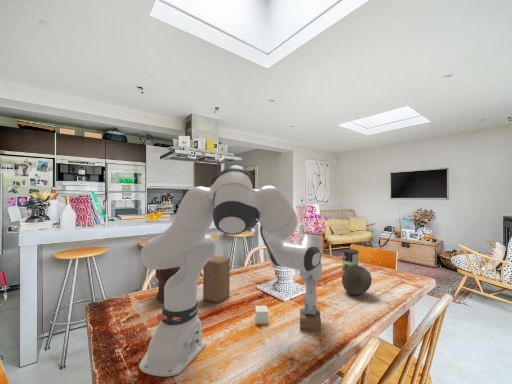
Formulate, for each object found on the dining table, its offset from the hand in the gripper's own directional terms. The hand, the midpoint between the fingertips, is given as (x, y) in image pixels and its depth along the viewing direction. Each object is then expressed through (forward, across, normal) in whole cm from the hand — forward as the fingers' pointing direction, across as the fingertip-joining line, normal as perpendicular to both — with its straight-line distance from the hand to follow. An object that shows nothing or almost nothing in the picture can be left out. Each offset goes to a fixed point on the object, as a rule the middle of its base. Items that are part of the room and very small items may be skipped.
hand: (310, 305), depth 98 cm
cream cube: (+8, 0, +20) cm, 22 cm away
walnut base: (+8, 0, 0) cm, 8 cm away
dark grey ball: (+8, +35, -25) cm, 44 cm away
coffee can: (+8, +72, -29) cm, 78 cm away
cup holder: (+8, +11, +68) cm, 69 cm away
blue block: (+2, 0, 0) cm, 2 cm away
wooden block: (+8, +16, +46) cm, 49 cm away
